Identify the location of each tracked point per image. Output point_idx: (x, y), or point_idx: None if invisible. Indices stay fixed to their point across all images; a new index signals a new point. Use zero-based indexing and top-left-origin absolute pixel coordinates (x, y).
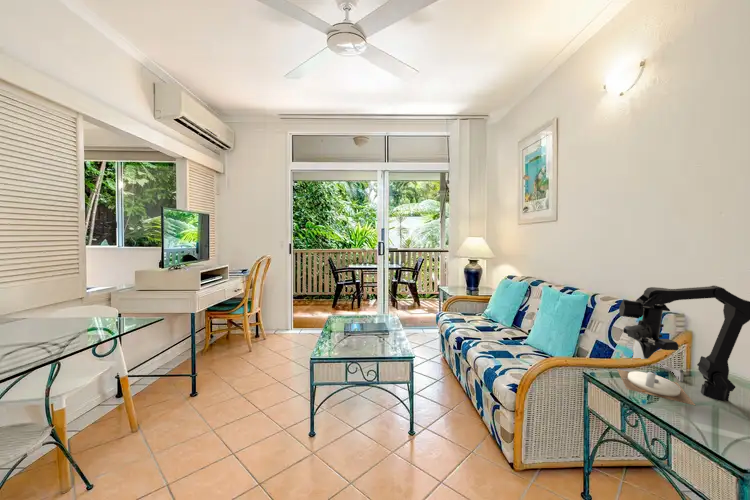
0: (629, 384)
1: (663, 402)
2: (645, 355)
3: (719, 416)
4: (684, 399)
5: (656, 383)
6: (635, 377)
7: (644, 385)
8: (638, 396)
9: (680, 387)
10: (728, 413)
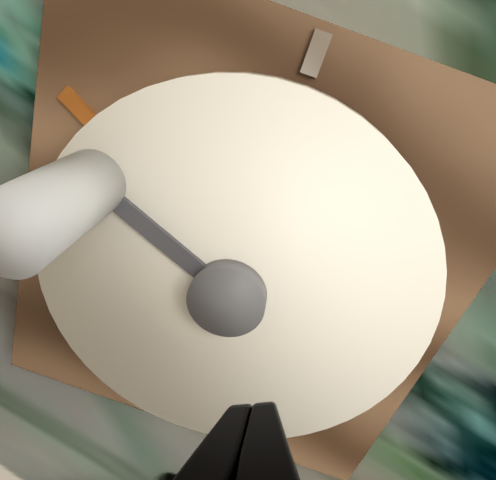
0: (184, 31)
1: None
2: (225, 449)
3: (8, 414)
4: (71, 353)
5: (184, 290)
6: (270, 152)
7: (82, 132)
8: None
9: None
10: (69, 475)
